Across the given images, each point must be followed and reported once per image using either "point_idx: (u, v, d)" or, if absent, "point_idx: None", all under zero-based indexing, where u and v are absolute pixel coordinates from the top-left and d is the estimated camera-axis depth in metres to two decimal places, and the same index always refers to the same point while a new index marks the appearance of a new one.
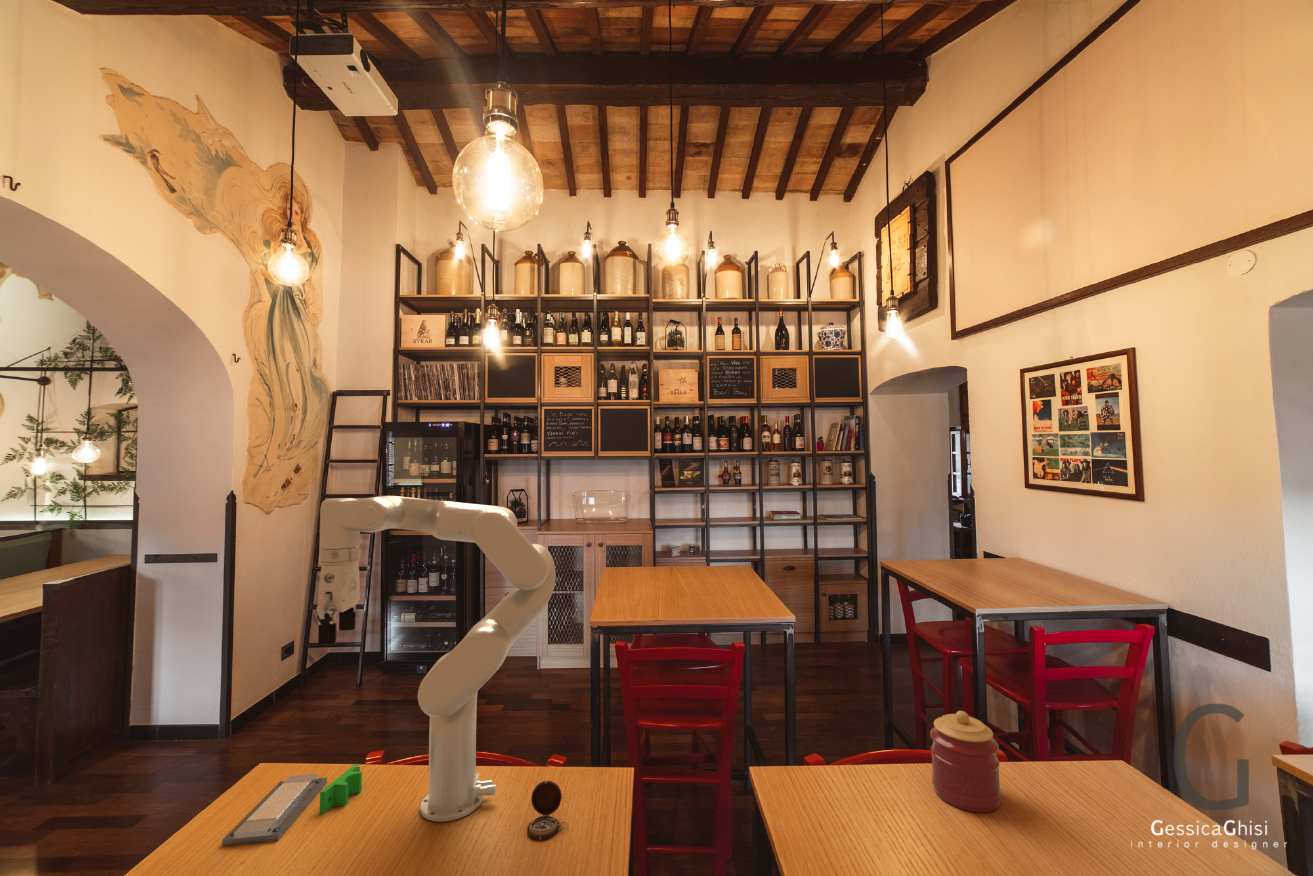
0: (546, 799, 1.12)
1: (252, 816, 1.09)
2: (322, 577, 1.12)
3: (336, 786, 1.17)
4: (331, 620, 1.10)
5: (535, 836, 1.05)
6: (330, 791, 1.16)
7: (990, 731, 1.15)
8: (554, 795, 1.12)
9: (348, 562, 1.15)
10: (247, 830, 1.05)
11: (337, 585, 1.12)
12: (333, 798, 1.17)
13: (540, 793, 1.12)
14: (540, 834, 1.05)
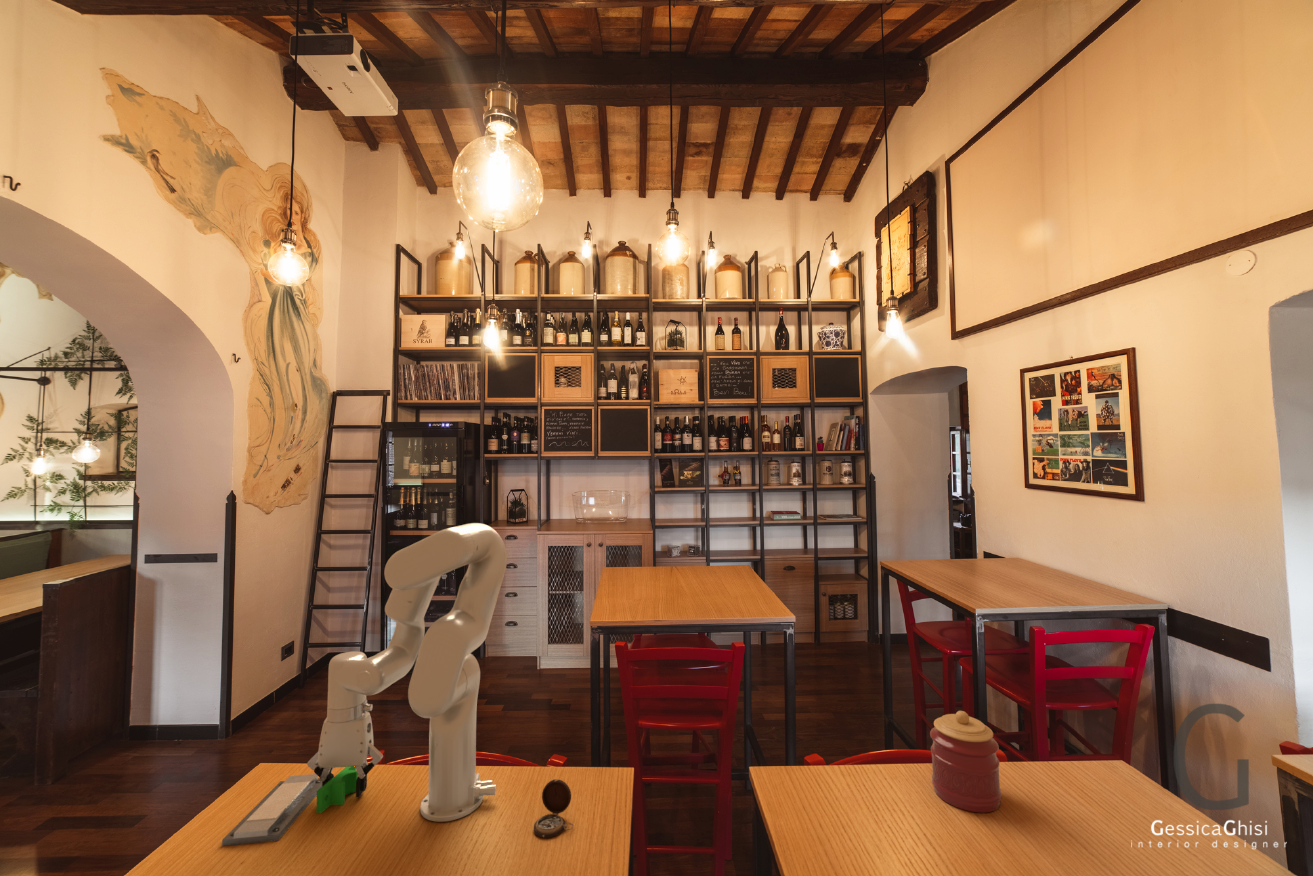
0: (556, 798, 1.12)
1: (252, 816, 1.09)
2: (365, 730, 1.19)
3: (333, 785, 1.17)
4: None
5: (539, 833, 1.05)
6: (327, 790, 1.16)
7: (990, 731, 1.15)
8: (564, 794, 1.12)
9: None
10: (247, 830, 1.05)
11: (372, 731, 1.22)
12: (330, 797, 1.17)
13: (551, 791, 1.13)
14: (543, 832, 1.05)
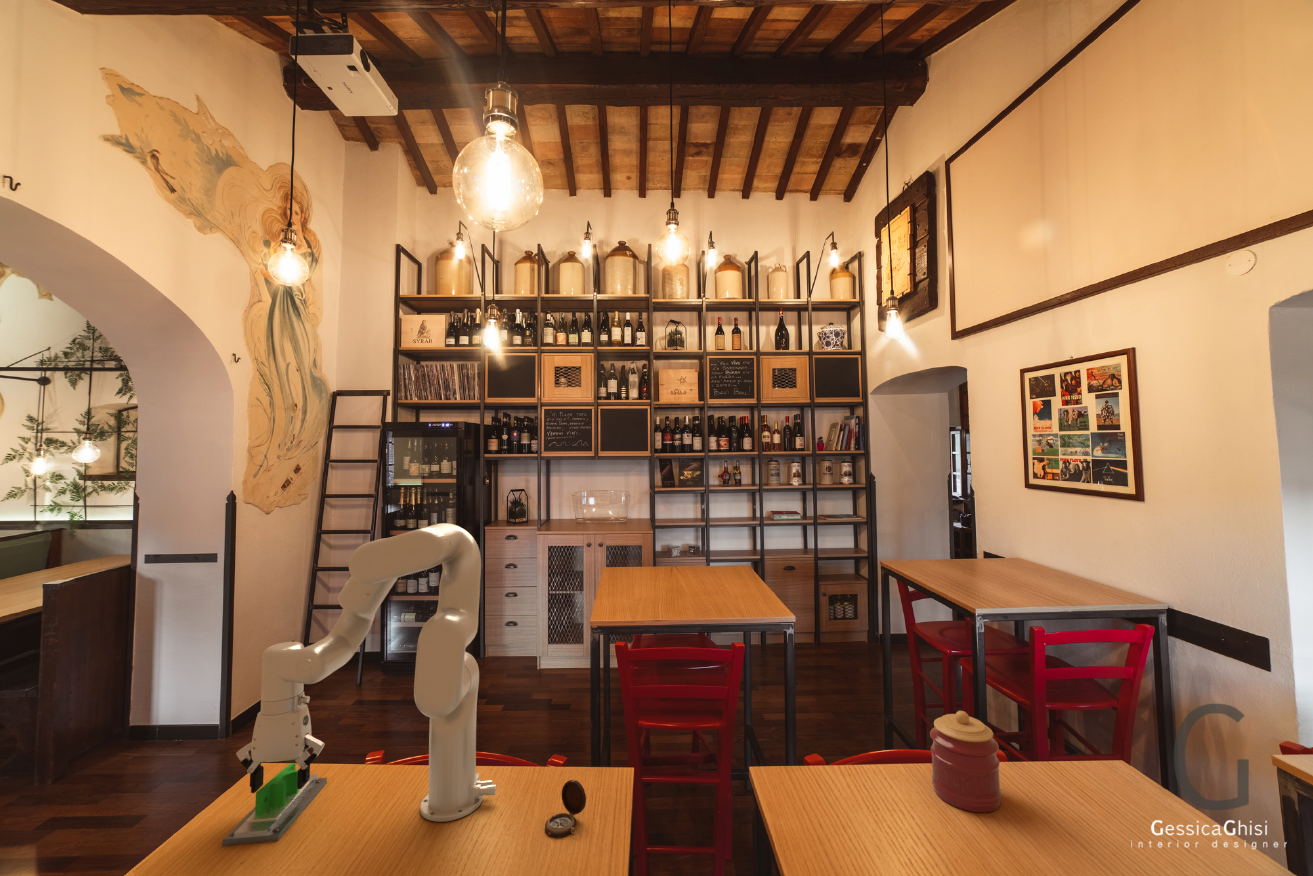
0: (574, 798, 1.12)
1: (252, 816, 1.09)
2: (301, 722, 1.15)
3: (273, 786, 1.13)
4: None
5: (546, 830, 1.06)
6: (266, 791, 1.12)
7: (990, 731, 1.15)
8: (580, 797, 1.11)
9: None
10: (247, 830, 1.05)
11: (310, 724, 1.18)
12: (270, 798, 1.13)
13: (570, 790, 1.13)
14: (550, 830, 1.06)
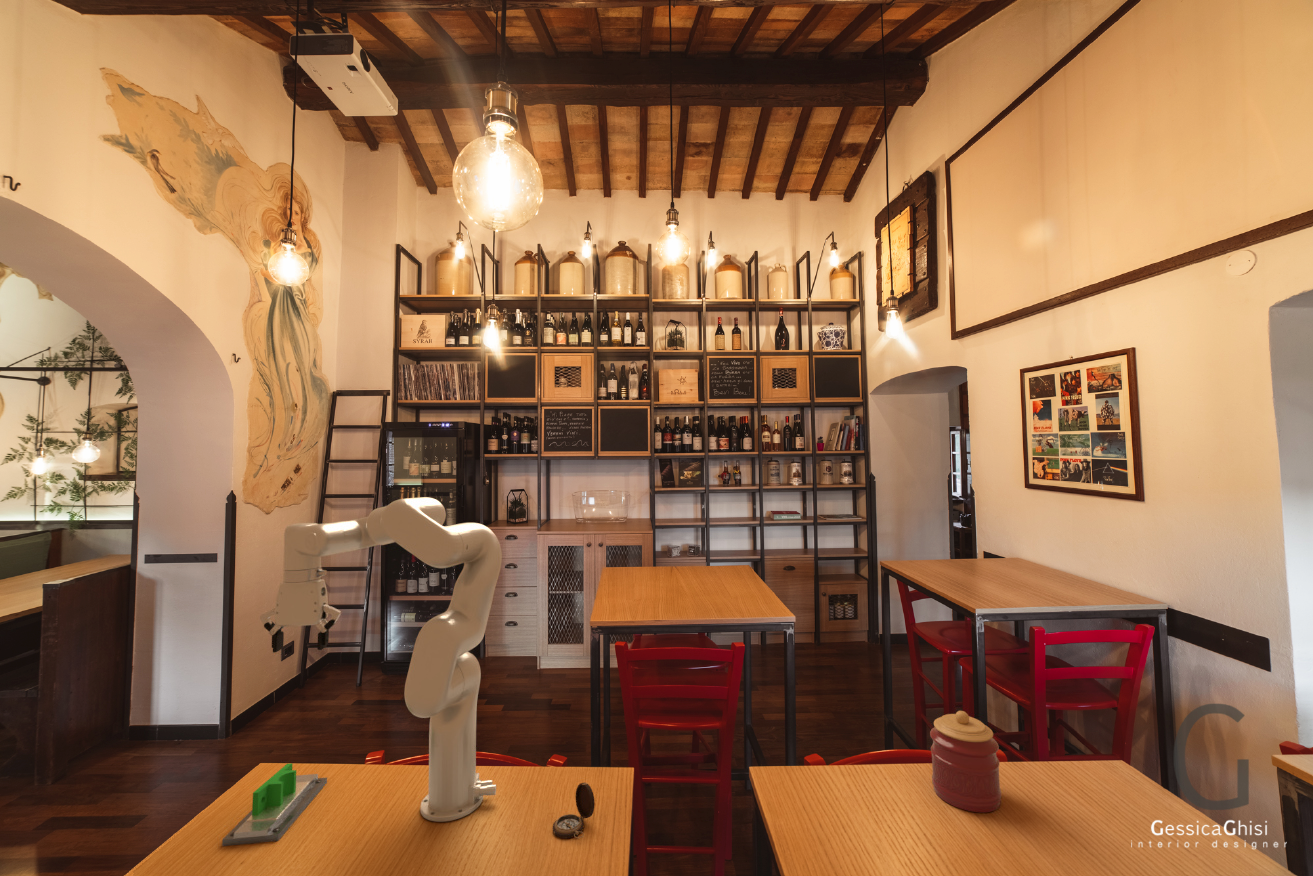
0: (585, 802, 1.11)
1: (252, 816, 1.09)
2: (319, 592, 1.27)
3: (270, 786, 1.13)
4: None
5: (553, 828, 1.07)
6: (263, 792, 1.12)
7: (990, 731, 1.15)
8: (590, 801, 1.09)
9: None
10: (247, 830, 1.05)
11: (327, 596, 1.30)
12: (267, 798, 1.12)
13: (582, 793, 1.12)
14: (555, 829, 1.06)
